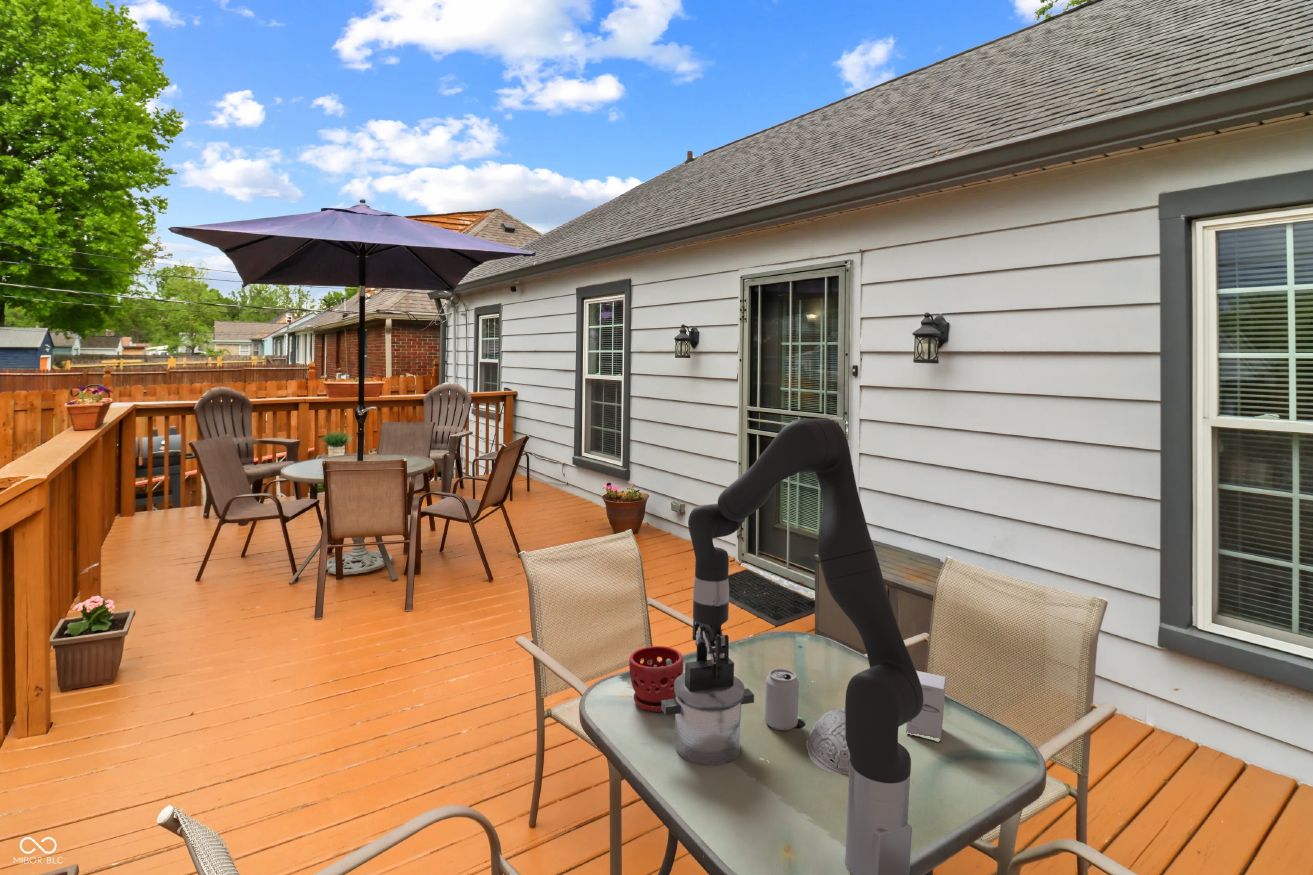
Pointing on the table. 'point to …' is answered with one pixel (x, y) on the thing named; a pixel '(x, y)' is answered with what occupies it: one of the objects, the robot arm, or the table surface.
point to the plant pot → (654, 675)
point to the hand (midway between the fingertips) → (709, 671)
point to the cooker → (706, 731)
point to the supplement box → (929, 707)
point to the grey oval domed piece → (830, 742)
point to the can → (781, 699)
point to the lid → (708, 687)
